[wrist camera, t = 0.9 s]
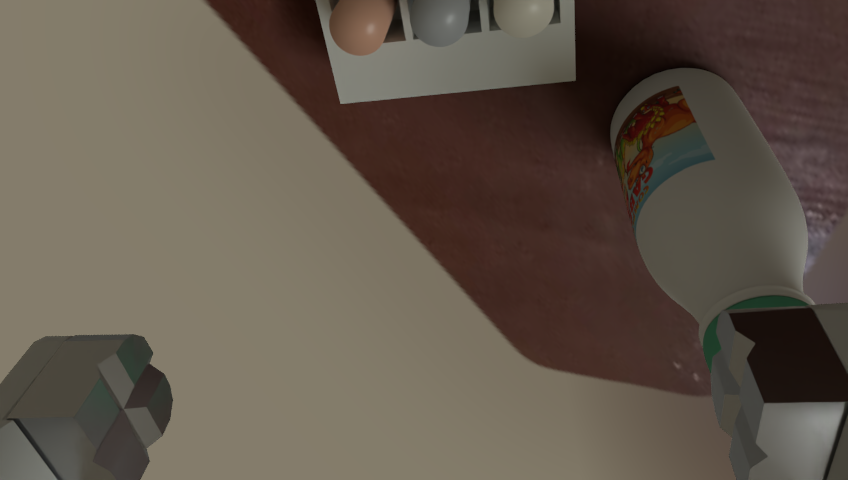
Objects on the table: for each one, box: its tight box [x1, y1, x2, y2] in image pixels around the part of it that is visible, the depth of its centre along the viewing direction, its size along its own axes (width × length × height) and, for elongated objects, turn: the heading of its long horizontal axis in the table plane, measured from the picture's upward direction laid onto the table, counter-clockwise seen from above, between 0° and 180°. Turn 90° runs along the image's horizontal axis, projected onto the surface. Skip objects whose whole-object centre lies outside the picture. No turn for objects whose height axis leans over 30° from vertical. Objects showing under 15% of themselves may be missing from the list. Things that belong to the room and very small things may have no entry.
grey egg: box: [410, 0, 471, 47], centre depth 34 cm, size 3×3×4 cm
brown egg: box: [329, 0, 398, 56], centre depth 35 cm, size 3×3×4 cm
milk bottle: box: [610, 68, 816, 373], centre depth 34 cm, size 8×8×20 cm
